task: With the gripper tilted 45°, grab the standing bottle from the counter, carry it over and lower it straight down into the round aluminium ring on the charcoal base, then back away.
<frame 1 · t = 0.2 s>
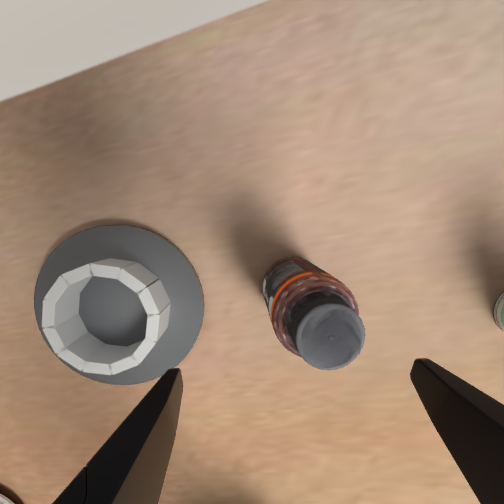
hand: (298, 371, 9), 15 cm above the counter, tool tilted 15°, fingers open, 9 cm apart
supplement bottle: (290, 284, 25), on the counter
ring mount: (124, 304, 24), on the counter
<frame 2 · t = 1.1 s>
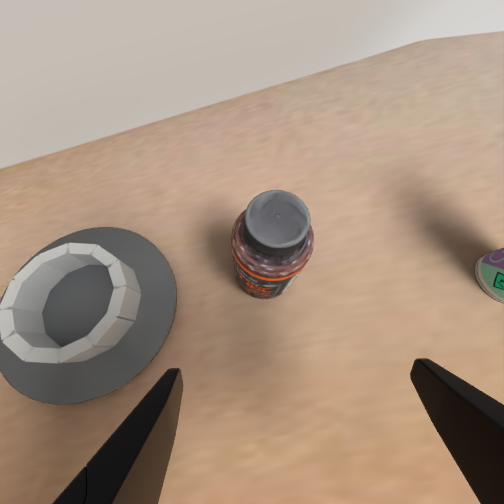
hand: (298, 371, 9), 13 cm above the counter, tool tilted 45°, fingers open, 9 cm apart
supplement bottle: (264, 272, 25), on the counter
spray can: (499, 278, 25), on the counter
ring mount: (93, 305, 23), on the counter
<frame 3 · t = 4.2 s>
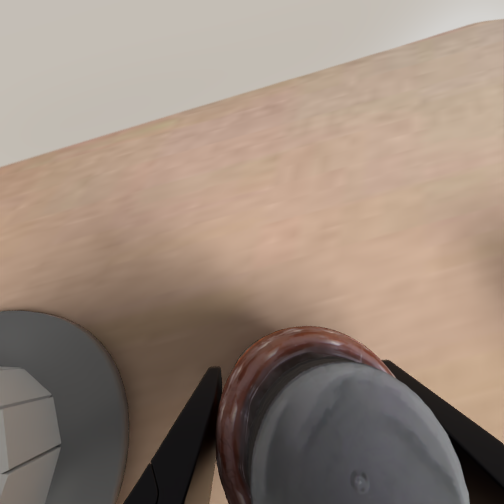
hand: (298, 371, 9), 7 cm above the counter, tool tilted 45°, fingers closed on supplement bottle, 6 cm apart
supplement bottle: (278, 387, 15), on the counter, touching gripper
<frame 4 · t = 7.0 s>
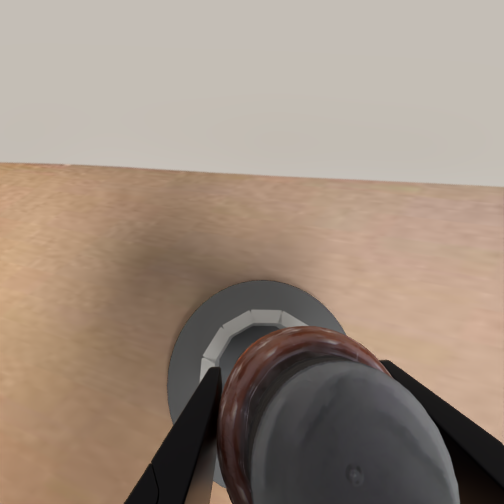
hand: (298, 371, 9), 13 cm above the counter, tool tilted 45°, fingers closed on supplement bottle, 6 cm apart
supplement bottle: (278, 384, 15), point 6 cm above the counter, touching gripper
ring mount: (263, 372, 21), on the counter
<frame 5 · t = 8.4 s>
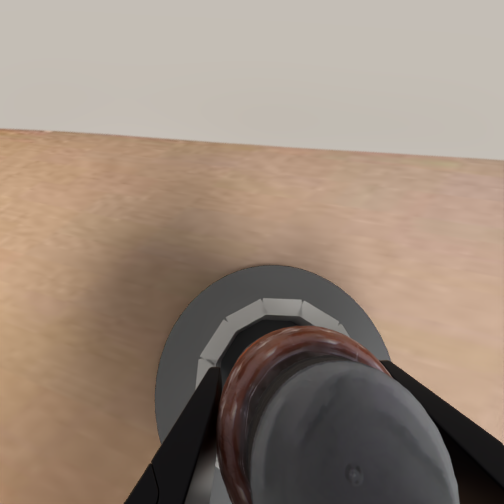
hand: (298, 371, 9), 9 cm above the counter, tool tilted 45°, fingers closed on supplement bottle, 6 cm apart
supplement bottle: (278, 384, 15), point 2 cm above the counter, touching gripper
ring mount: (275, 377, 17), on the counter
when the fingers open (8 cm above the counter, at t = 9.7 s): supplement bottle stays where it is, resting on ring mount.
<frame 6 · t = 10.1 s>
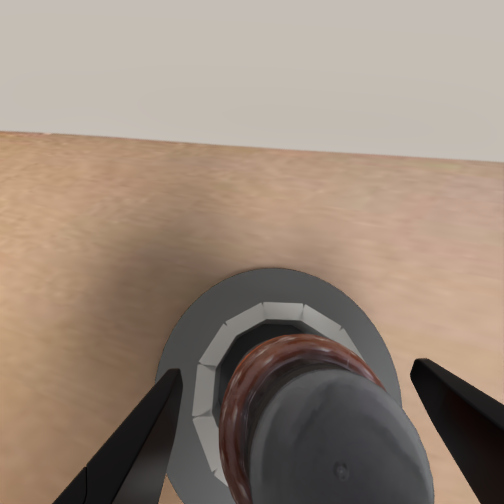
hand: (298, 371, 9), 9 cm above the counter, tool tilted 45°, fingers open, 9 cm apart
supplement bottle: (277, 387, 16), point 1 cm above the counter, touching ring mount
ring mount: (276, 383, 17), on the counter
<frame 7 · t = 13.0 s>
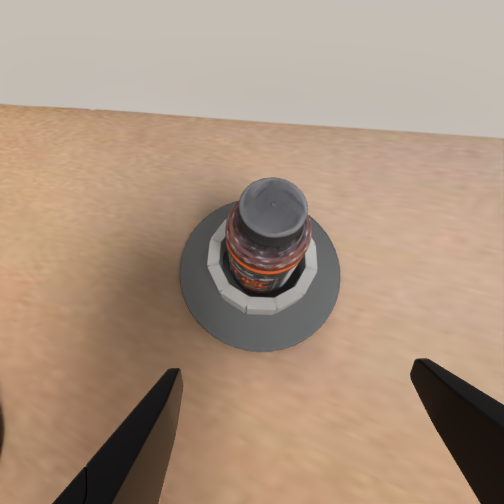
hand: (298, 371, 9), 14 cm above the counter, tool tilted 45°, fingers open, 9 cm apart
supplement bottle: (260, 267, 24), point 1 cm above the counter, touching ring mount
ring mount: (260, 268, 25), on the counter
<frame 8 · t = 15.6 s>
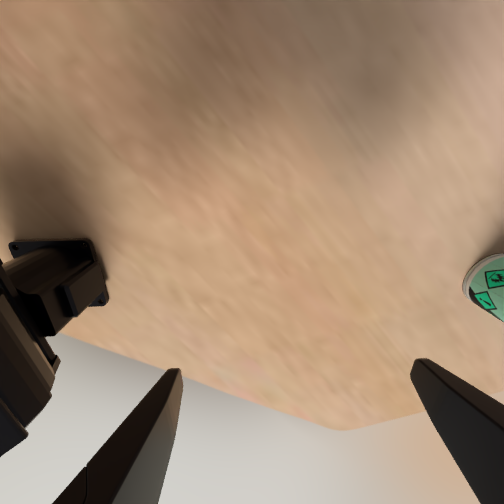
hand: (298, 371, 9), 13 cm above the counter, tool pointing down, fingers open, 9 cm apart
spray can: (489, 277, 23), on the counter
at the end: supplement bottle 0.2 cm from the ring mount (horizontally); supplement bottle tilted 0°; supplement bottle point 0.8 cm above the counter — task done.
